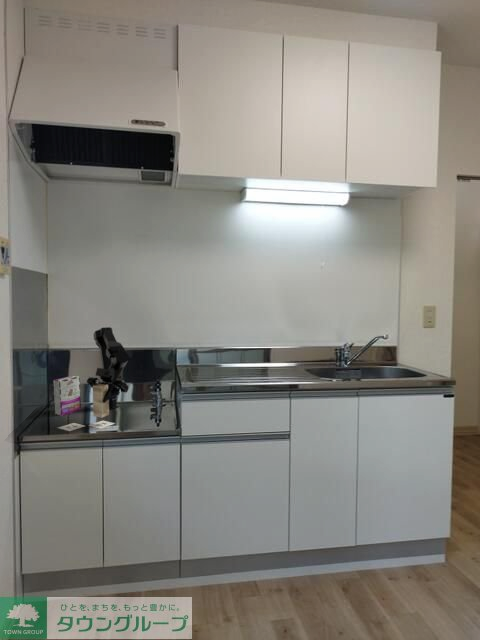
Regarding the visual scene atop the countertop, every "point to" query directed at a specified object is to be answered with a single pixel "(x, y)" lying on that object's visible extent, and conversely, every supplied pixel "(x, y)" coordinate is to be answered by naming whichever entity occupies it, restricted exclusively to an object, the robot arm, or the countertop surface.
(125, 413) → the countertop surface
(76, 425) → the tile
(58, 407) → the candy bar box
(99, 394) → the beech block
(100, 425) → the code tile
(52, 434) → the countertop surface
